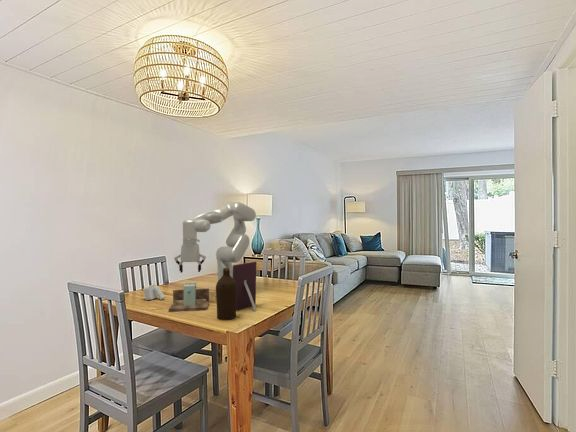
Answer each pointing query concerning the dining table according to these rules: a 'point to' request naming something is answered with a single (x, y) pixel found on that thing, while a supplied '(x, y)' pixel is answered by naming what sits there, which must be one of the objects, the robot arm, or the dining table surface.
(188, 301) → the grey-green rectangular block
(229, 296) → the olive oil
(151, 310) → the dining table surface
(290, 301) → the dining table surface
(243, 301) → the picture frame
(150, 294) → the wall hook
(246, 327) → the dining table surface
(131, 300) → the dining table surface
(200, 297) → the board
